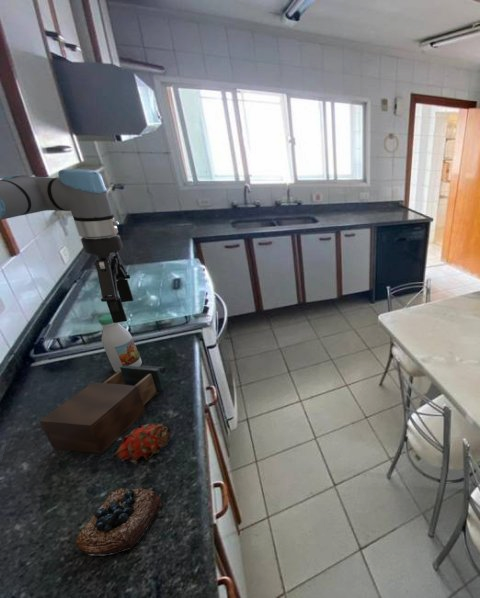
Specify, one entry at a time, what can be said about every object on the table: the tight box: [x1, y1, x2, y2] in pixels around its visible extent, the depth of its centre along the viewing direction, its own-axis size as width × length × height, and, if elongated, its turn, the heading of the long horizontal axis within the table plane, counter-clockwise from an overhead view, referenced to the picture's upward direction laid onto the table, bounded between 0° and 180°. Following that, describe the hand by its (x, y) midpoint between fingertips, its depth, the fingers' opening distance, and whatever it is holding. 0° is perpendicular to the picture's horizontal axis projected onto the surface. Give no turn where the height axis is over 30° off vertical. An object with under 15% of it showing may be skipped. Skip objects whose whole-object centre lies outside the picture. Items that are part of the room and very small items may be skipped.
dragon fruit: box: [112, 423, 172, 465], centre depth 82 cm, size 8×8×12 cm
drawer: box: [102, 365, 166, 406], centre depth 98 cm, size 18×11×8 cm, turn 177°
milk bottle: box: [98, 313, 143, 373], centre depth 109 cm, size 8×8×20 cm
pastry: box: [75, 487, 163, 555], centre depth 67 cm, size 11×12×6 cm
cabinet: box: [39, 381, 146, 454], centre depth 87 cm, size 15×13×10 cm
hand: (124, 310), depth 91 cm, fingers open, 13 cm apart
